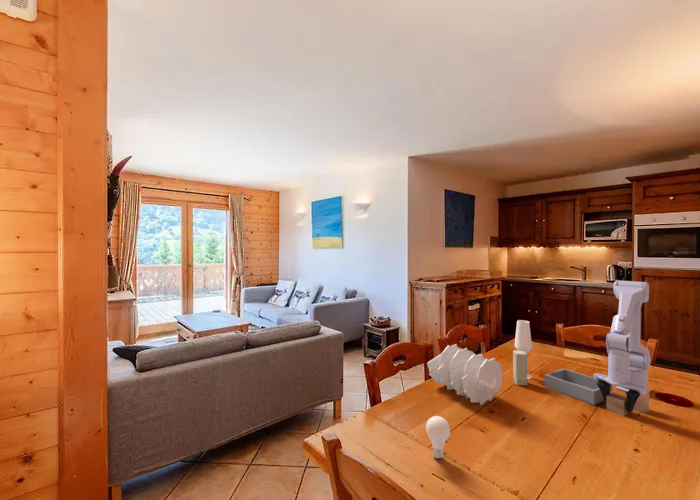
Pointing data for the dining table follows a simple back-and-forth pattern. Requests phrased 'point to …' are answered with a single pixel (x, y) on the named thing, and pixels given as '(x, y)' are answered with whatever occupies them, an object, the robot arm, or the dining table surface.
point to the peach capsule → (642, 403)
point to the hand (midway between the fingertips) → (618, 407)
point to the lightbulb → (437, 434)
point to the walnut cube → (617, 404)
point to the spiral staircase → (467, 373)
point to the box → (520, 367)
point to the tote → (575, 385)
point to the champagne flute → (523, 338)
